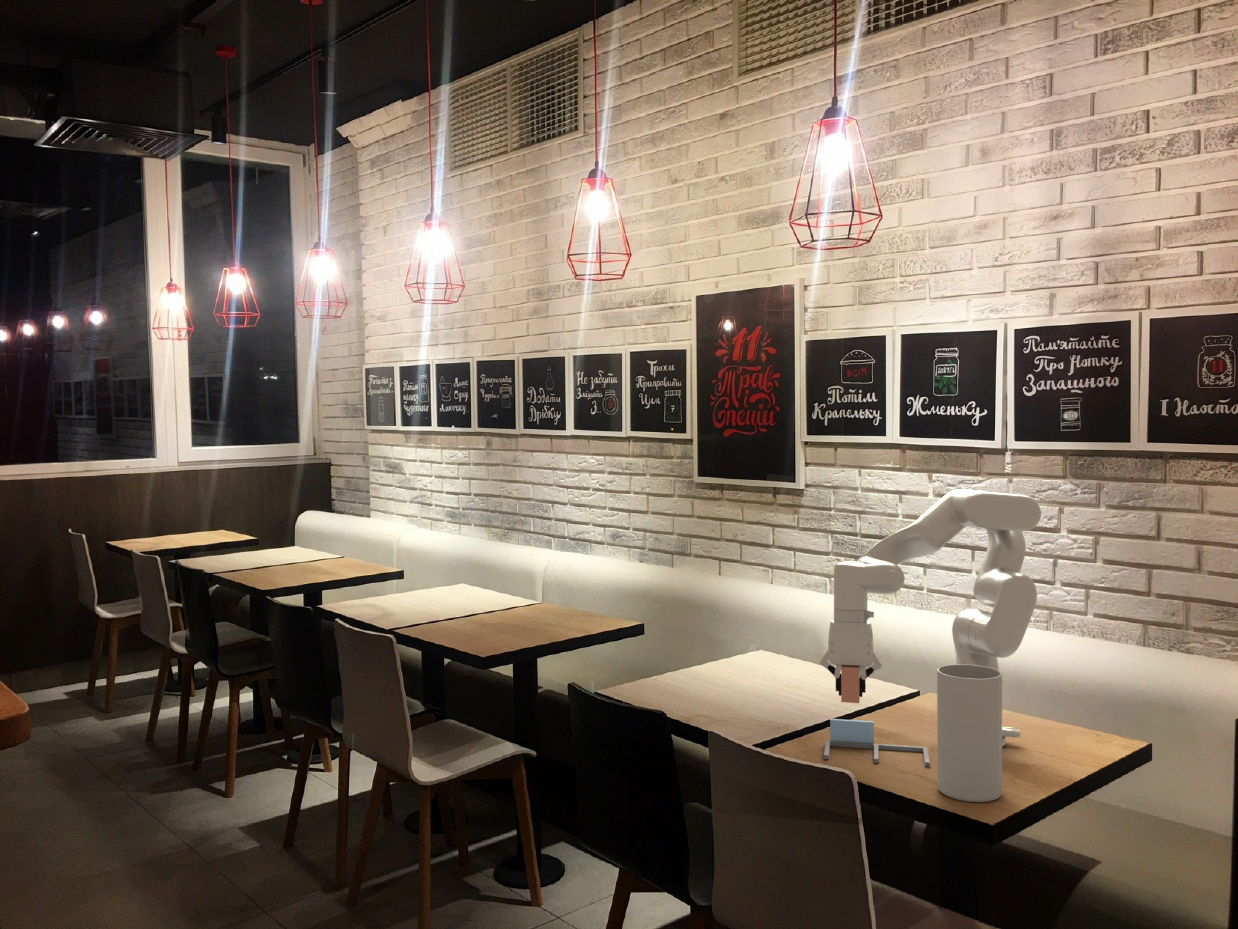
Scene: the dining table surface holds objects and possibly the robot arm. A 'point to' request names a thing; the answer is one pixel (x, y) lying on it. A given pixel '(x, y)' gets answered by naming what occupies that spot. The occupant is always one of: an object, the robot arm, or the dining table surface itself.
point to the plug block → (850, 684)
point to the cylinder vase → (969, 732)
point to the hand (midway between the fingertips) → (850, 694)
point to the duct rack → (863, 739)
